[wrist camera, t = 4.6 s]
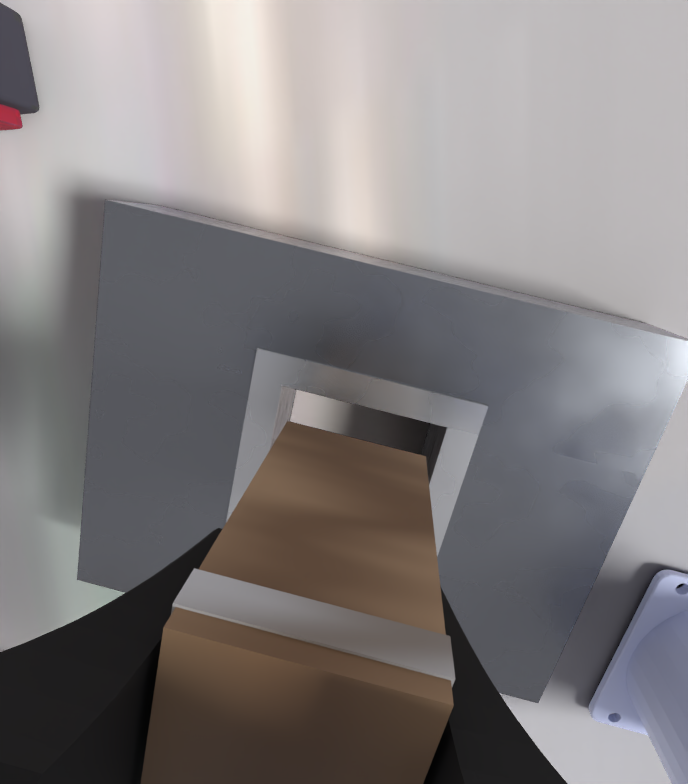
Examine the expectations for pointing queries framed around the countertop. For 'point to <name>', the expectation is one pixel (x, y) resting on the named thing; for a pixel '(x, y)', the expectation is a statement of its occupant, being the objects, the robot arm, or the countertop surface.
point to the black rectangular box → (14, 72)
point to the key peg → (309, 628)
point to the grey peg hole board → (373, 390)
